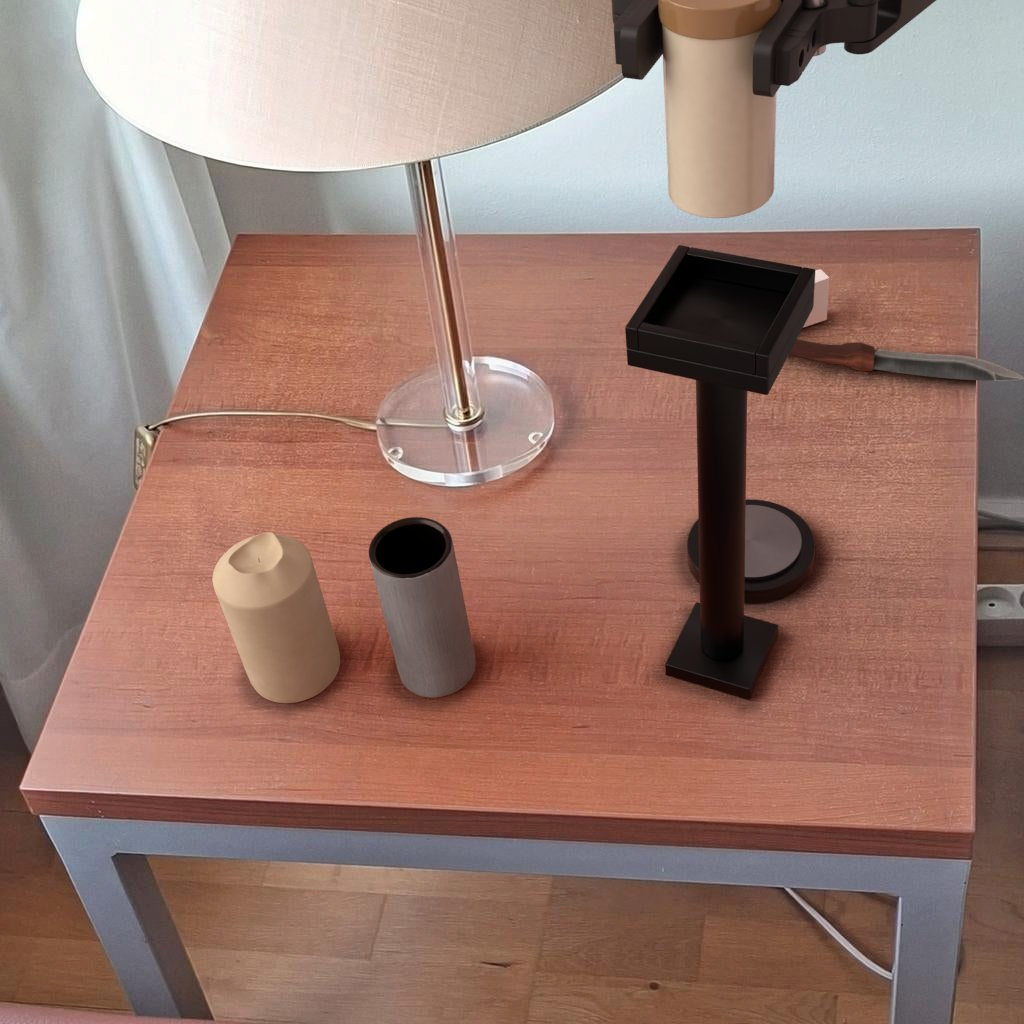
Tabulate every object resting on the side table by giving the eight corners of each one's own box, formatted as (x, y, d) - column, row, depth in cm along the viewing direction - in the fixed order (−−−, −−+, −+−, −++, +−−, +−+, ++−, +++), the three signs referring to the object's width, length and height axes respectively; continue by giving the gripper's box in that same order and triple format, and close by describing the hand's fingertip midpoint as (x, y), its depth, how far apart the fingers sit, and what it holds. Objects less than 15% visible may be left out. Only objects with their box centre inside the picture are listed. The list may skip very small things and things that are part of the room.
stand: (796, 629, 82) (815, 268, 64) (759, 715, 78) (768, 356, 60) (688, 599, 84) (678, 244, 66) (646, 681, 80) (624, 327, 62)
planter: (488, 649, 83) (466, 526, 76) (455, 707, 80) (428, 586, 73) (420, 629, 85) (392, 507, 77) (385, 686, 82) (352, 565, 75)
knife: (1026, 398, 94) (1026, 372, 96) (1031, 379, 93) (1031, 353, 95) (748, 363, 98) (754, 339, 100) (750, 345, 97) (756, 321, 99)
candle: (285, 619, 86) (246, 503, 79) (359, 649, 84) (326, 532, 77) (230, 685, 83) (184, 570, 76) (305, 717, 81) (265, 602, 74)
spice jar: (791, 168, 60) (797, -41, 53) (755, 227, 57) (758, 14, 51) (688, 153, 61) (683, -51, 55) (649, 210, 59) (638, 2, 52)
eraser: (827, 319, 101) (829, 277, 98) (766, 341, 100) (767, 298, 97) (818, 310, 102) (820, 268, 99) (758, 331, 101) (758, 289, 98)
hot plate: (830, 529, 87) (831, 512, 86) (791, 618, 82) (792, 601, 81) (712, 500, 90) (712, 483, 89) (668, 584, 85) (668, 567, 84)
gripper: (676, -214, 63) (511, -51, 53) (1006, -199, 58) (894, -14, 47) (680, -49, 68) (531, 129, 58) (983, -21, 63) (878, 181, 53)
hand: (695, 64), depth 53 cm, fingers closed on spice jar, 4 cm apart
